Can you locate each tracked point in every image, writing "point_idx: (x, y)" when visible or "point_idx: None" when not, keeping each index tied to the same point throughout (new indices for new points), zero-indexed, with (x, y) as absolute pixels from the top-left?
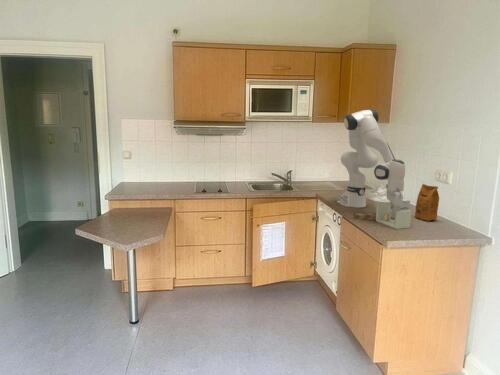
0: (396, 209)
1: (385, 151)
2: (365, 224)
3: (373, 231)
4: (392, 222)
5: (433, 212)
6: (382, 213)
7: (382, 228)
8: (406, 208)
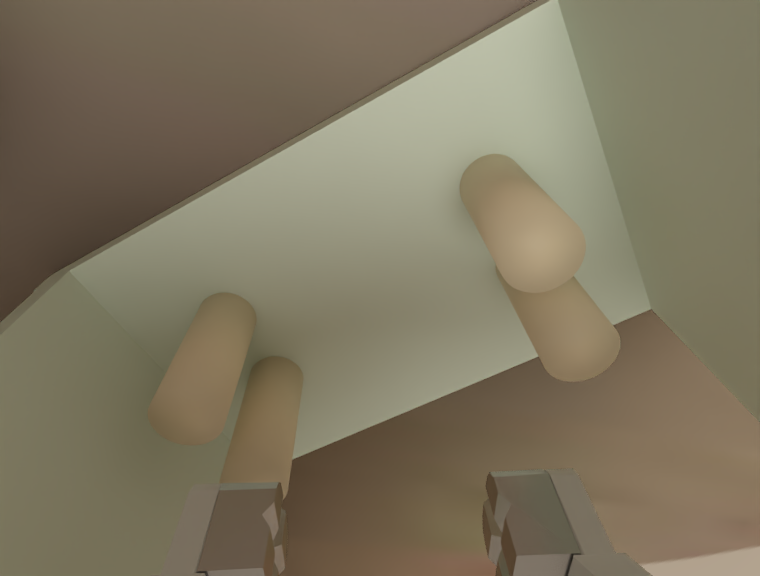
0: (596, 523)
1: None
2: (454, 568)
3: (745, 536)
4: (376, 289)
5: None
6: (163, 499)
7: (633, 443)
8: None
